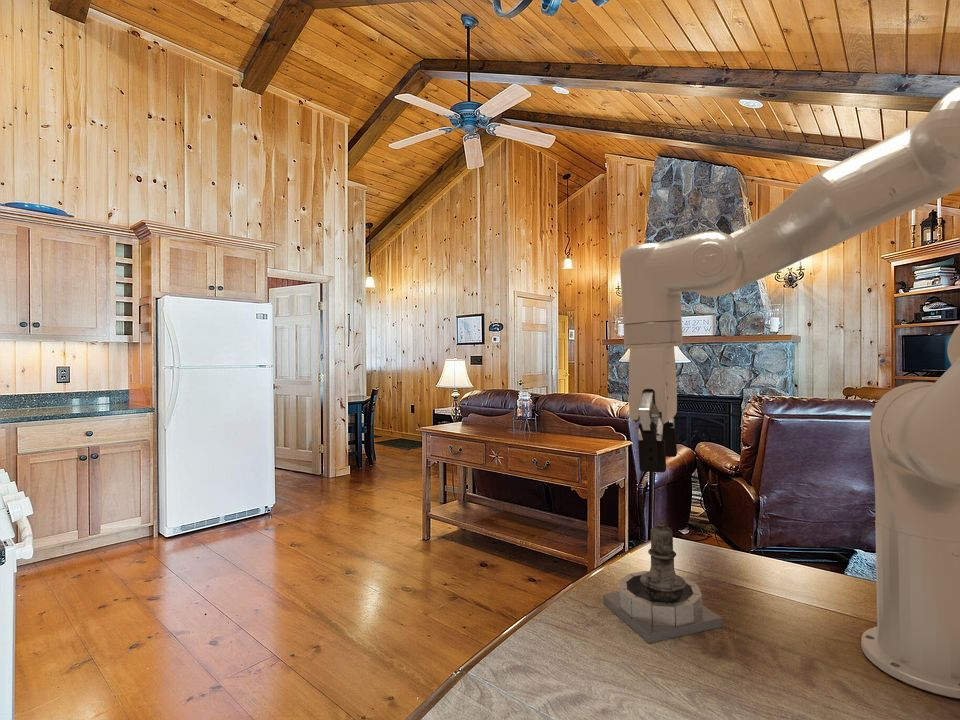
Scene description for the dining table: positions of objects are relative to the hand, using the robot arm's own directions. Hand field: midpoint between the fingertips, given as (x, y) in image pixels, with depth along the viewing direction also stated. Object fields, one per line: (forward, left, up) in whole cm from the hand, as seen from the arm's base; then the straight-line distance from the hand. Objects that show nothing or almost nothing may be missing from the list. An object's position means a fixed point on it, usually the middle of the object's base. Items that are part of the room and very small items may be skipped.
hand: (659, 463), depth 71 cm
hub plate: (0, 0, -21) cm, 21 cm away
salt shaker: (0, 0, -20) cm, 20 cm away
